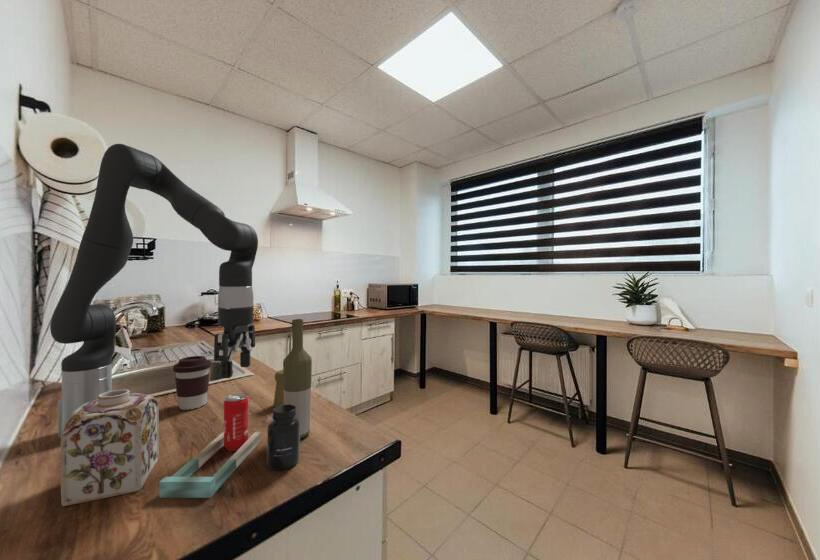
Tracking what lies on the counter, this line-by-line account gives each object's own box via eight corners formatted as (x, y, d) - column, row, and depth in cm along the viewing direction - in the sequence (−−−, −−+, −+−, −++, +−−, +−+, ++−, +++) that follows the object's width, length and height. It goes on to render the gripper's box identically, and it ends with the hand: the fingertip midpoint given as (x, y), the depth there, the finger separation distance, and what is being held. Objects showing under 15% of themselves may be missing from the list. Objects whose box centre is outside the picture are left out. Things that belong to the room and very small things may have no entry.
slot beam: (159, 497, 60) (159, 481, 60) (223, 439, 81) (223, 427, 81) (210, 497, 60) (210, 481, 60) (261, 439, 81) (261, 427, 81)
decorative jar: (58, 509, 57) (56, 408, 57) (91, 471, 68) (90, 386, 67) (142, 491, 62) (141, 398, 61) (161, 459, 72) (160, 379, 72)
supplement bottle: (280, 475, 67) (280, 418, 67) (260, 464, 71) (260, 410, 70) (306, 459, 73) (306, 406, 73) (287, 450, 76) (287, 400, 76)
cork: (268, 406, 101) (268, 372, 101) (283, 400, 107) (283, 366, 106) (283, 410, 99) (283, 374, 99) (297, 402, 104) (297, 369, 104)
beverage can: (237, 453, 75) (237, 402, 75) (218, 450, 76) (218, 400, 76) (252, 441, 80) (252, 393, 80) (234, 439, 81) (234, 392, 81)
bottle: (300, 425, 89) (300, 317, 88) (317, 433, 85) (317, 319, 84) (277, 436, 83) (277, 320, 82) (294, 444, 79) (294, 322, 78)
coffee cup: (217, 403, 103) (217, 357, 103) (182, 415, 95) (182, 364, 94) (202, 397, 108) (201, 352, 108) (167, 407, 100) (167, 359, 100)
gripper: (236, 302, 85) (236, 363, 85) (201, 308, 70) (202, 381, 71) (264, 302, 85) (265, 363, 85) (236, 308, 71) (236, 381, 71)
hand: (236, 371), depth 78 cm, fingers open, 8 cm apart
